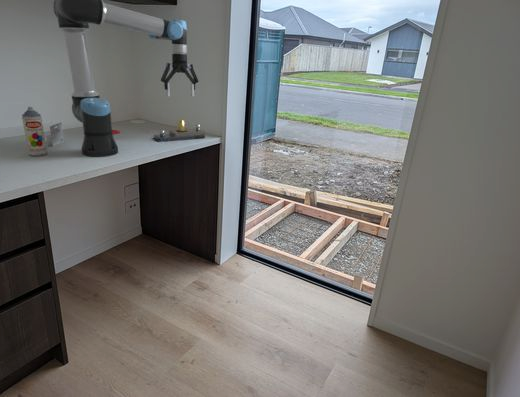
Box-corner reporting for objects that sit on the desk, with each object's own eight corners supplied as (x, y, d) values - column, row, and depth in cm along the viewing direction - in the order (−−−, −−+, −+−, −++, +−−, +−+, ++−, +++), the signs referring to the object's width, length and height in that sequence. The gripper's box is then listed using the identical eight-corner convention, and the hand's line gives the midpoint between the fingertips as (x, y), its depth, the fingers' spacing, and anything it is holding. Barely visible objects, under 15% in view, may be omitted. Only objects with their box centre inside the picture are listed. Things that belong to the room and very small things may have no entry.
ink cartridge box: (47, 147, 168) (44, 126, 164) (59, 141, 178) (56, 121, 175) (53, 147, 168) (49, 126, 164) (64, 142, 178) (61, 122, 175)
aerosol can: (29, 157, 151) (20, 108, 144) (28, 153, 156) (19, 106, 149) (48, 155, 155) (40, 108, 147) (46, 151, 160) (38, 105, 152)
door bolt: (160, 141, 190) (159, 128, 187) (154, 138, 197) (153, 125, 194) (204, 138, 204) (204, 125, 201) (197, 135, 211) (197, 123, 208)
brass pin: (179, 139, 198) (179, 120, 195) (176, 137, 201) (176, 119, 198) (186, 138, 200) (186, 120, 197) (183, 137, 203) (183, 119, 200)
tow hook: (109, 131, 209) (100, 133, 200) (107, 108, 205) (98, 109, 196) (123, 132, 208) (114, 135, 199) (121, 109, 204) (113, 111, 195)
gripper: (198, 54, 194) (198, 95, 202) (153, 51, 181) (155, 95, 189) (204, 55, 189) (204, 96, 196) (158, 52, 175) (160, 97, 183)
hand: (180, 96), depth 193 cm, fingers open, 13 cm apart
